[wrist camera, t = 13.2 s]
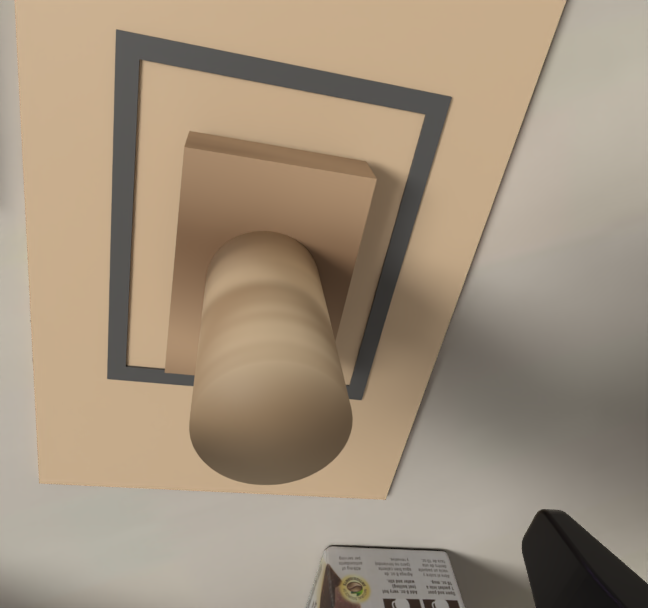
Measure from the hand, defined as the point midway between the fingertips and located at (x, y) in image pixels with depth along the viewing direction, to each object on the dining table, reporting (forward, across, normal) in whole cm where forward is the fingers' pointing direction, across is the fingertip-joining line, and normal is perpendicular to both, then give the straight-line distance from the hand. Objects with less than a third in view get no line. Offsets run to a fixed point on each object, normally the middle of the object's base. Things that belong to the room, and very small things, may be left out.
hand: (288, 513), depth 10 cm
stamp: (+10, 0, 0) cm, 10 cm away
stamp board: (+11, 0, 0) cm, 11 cm away
